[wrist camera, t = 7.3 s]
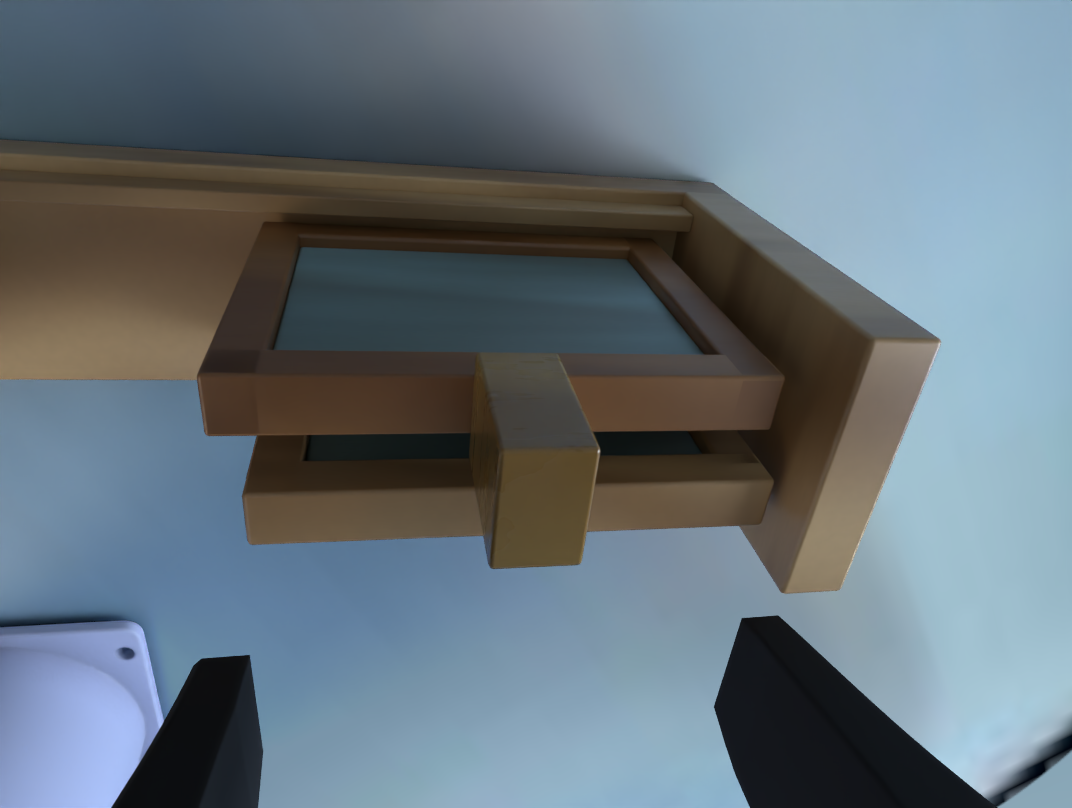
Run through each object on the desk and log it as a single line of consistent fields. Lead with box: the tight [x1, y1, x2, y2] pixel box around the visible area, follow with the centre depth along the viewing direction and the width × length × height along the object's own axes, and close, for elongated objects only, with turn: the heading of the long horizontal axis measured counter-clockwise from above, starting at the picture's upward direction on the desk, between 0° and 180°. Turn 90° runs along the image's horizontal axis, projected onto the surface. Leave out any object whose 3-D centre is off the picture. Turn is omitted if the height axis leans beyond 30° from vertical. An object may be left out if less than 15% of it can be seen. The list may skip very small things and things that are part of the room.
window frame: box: [0, 139, 941, 594], centre depth 14 cm, size 5×20×9 cm, turn 84°
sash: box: [197, 221, 785, 569], centre depth 13 cm, size 2×9×9 cm, turn 84°
